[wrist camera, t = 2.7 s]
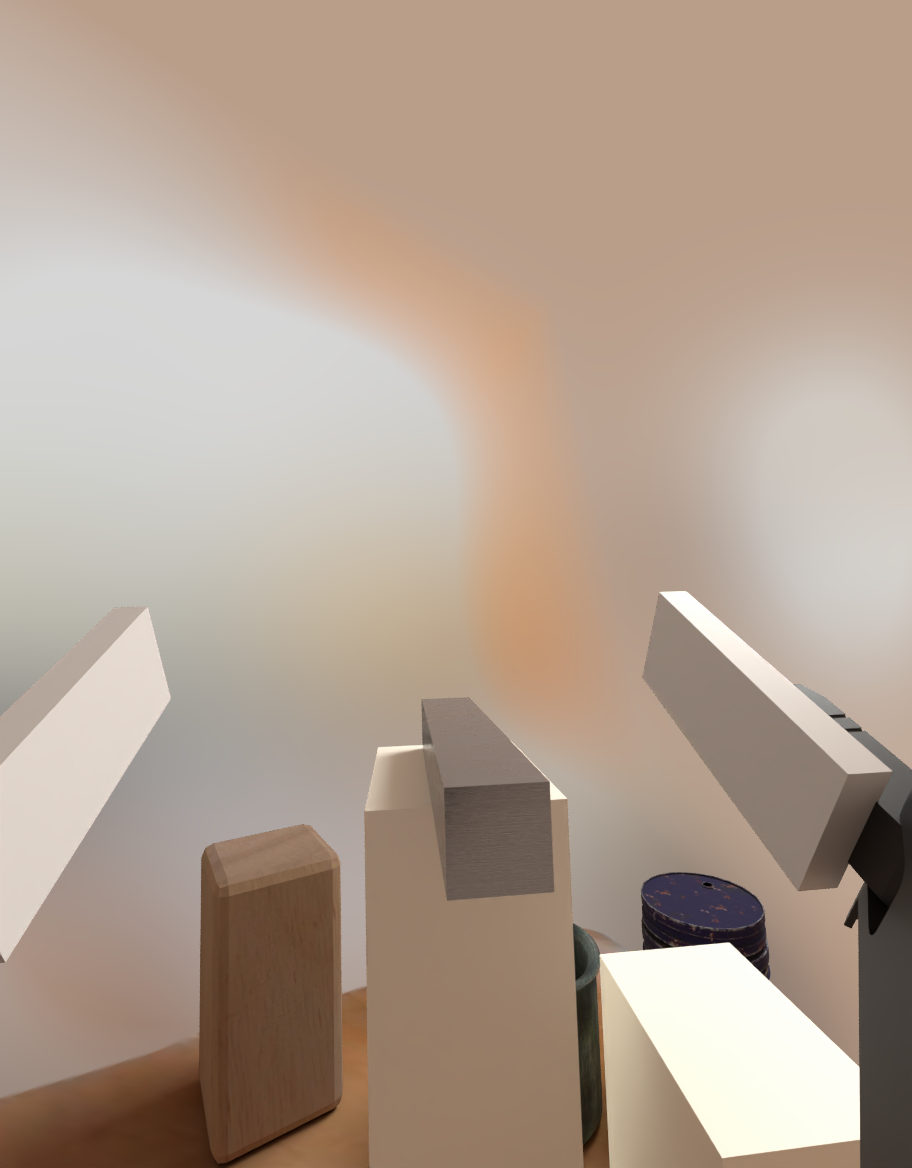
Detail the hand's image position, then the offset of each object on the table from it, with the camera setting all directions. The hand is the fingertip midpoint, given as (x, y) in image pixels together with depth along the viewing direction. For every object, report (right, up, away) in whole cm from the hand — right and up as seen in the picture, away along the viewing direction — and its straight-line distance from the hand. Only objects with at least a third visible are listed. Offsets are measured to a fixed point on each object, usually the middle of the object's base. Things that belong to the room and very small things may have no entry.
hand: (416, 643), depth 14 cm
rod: (+1, -9, +14) cm, 17 cm away
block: (-15, -42, +31) cm, 54 cm away
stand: (+2, -40, +16) cm, 43 cm away
